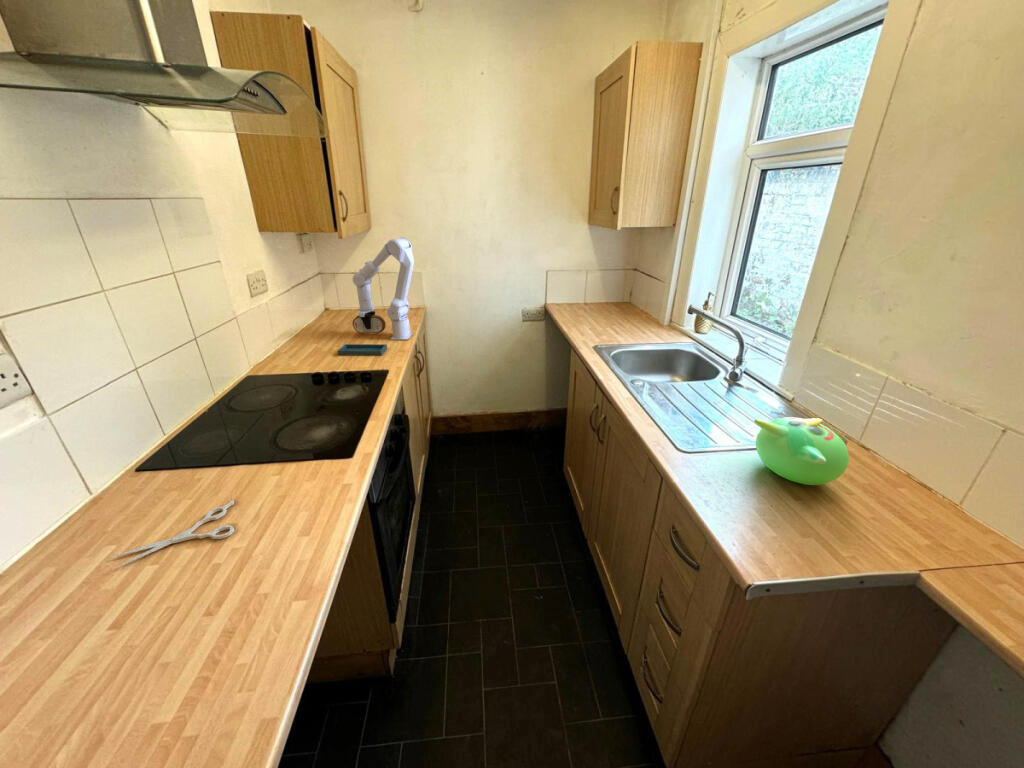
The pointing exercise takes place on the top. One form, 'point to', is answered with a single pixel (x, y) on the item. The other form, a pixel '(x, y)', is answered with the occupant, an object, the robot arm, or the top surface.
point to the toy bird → (801, 450)
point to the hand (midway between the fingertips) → (369, 327)
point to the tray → (363, 349)
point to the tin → (376, 325)
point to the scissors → (190, 533)
